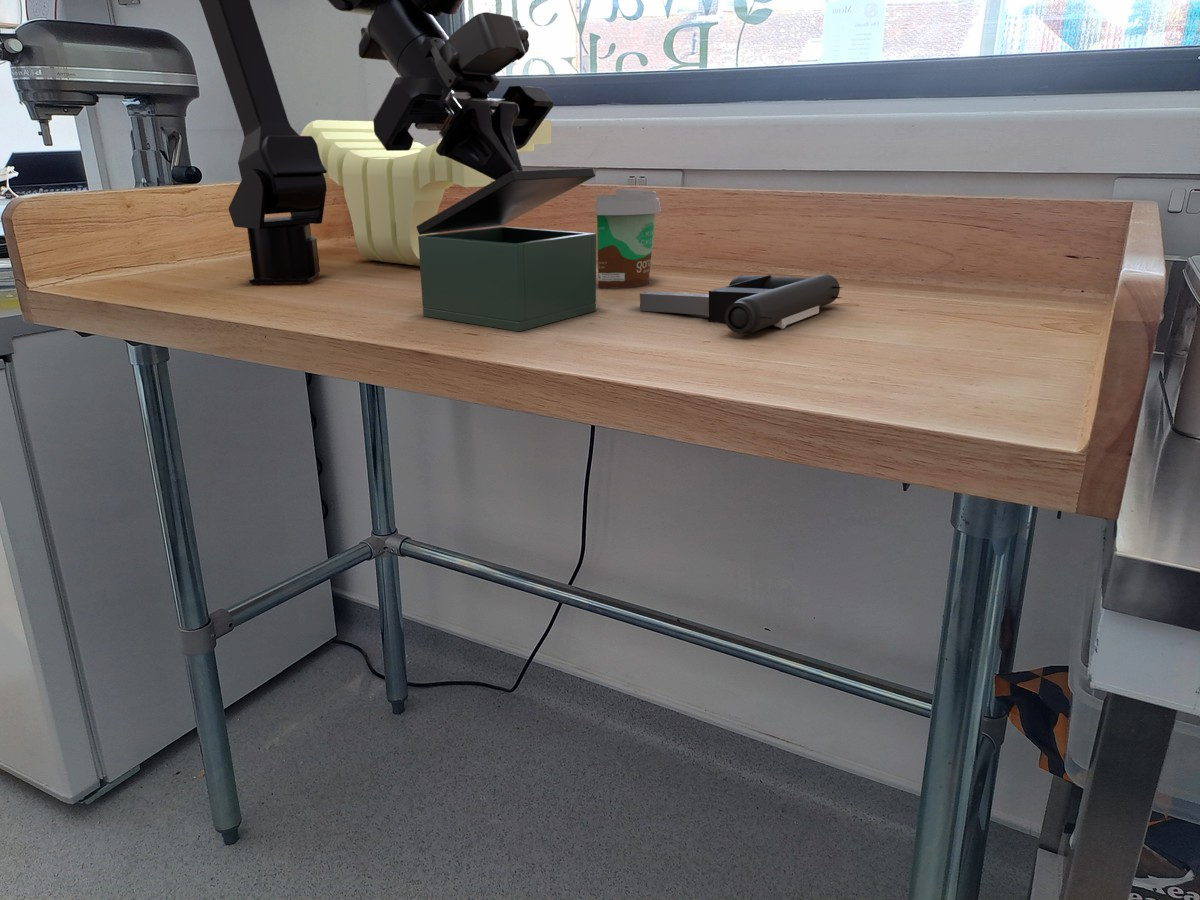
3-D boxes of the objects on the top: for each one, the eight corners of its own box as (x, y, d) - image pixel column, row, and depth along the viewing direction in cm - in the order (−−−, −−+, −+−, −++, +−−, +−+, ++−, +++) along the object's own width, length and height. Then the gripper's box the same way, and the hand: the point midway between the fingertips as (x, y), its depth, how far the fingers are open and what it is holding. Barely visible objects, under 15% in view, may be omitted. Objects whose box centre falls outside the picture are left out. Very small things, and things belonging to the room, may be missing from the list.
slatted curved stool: (310, 257, 118) (296, 119, 112) (399, 246, 130) (389, 121, 124) (468, 277, 101) (461, 117, 95) (552, 263, 114) (550, 120, 108)
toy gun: (604, 293, 78) (767, 301, 68) (710, 269, 93) (855, 273, 84) (605, 329, 79) (766, 342, 69) (710, 299, 94) (854, 307, 85)
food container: (650, 291, 93) (653, 196, 89) (595, 289, 94) (595, 195, 90) (665, 275, 104) (668, 189, 101) (615, 273, 105) (616, 188, 102)
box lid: (596, 176, 78) (593, 167, 78) (514, 180, 69) (511, 170, 69) (503, 225, 86) (500, 217, 86) (418, 235, 77) (415, 226, 77)
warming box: (596, 311, 82) (596, 233, 80) (519, 331, 73) (517, 244, 71) (504, 298, 88) (501, 226, 86) (423, 316, 79) (417, 235, 77)
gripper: (384, -37, 66) (499, 114, 64) (535, -5, 81) (632, 119, 78) (328, 78, 73) (430, 217, 71) (476, 88, 87) (564, 205, 85)
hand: (521, 186), depth 76 cm, fingers closed, pressing on box lid
